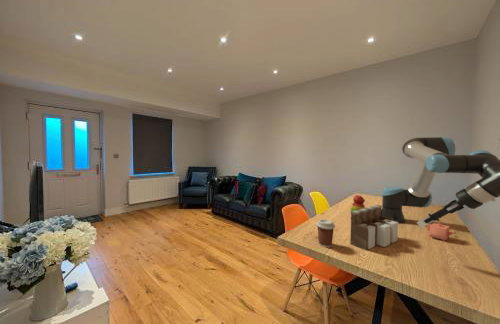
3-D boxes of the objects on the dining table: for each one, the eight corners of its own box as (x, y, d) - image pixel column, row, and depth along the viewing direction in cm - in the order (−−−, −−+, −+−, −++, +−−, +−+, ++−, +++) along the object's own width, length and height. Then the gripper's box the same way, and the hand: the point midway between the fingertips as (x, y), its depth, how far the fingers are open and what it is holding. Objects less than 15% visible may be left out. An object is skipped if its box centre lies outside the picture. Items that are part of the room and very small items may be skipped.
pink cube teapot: (454, 244, 106) (454, 228, 105) (424, 236, 115) (425, 222, 115) (457, 240, 110) (457, 225, 110) (428, 233, 120) (429, 220, 120)
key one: (385, 236, 115) (385, 218, 114) (397, 240, 110) (398, 221, 109) (380, 238, 112) (380, 220, 111) (392, 242, 106) (393, 223, 106)
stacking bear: (368, 223, 138) (369, 197, 137) (352, 222, 140) (353, 196, 139) (363, 218, 148) (364, 194, 147) (348, 217, 150) (349, 193, 149)
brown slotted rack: (376, 233, 120) (377, 204, 120) (392, 237, 113) (393, 207, 113) (350, 243, 105) (350, 211, 105) (366, 250, 98) (367, 215, 98)
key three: (362, 241, 108) (363, 222, 107) (374, 246, 103) (375, 226, 102) (356, 244, 104) (357, 225, 104) (368, 249, 99) (369, 228, 99)
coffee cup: (330, 240, 110) (330, 218, 109) (337, 248, 101) (338, 224, 100) (313, 240, 109) (313, 218, 109) (319, 248, 100) (320, 224, 100)
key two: (377, 240, 110) (377, 221, 109) (389, 244, 105) (390, 224, 104) (371, 242, 107) (372, 223, 106) (384, 247, 102) (384, 227, 101)
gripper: (480, 206, 73) (420, 235, 88) (488, 201, 80) (431, 229, 95) (460, 189, 77) (406, 220, 92) (469, 186, 84) (418, 215, 99)
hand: (419, 224), depth 93 cm, fingers closed
